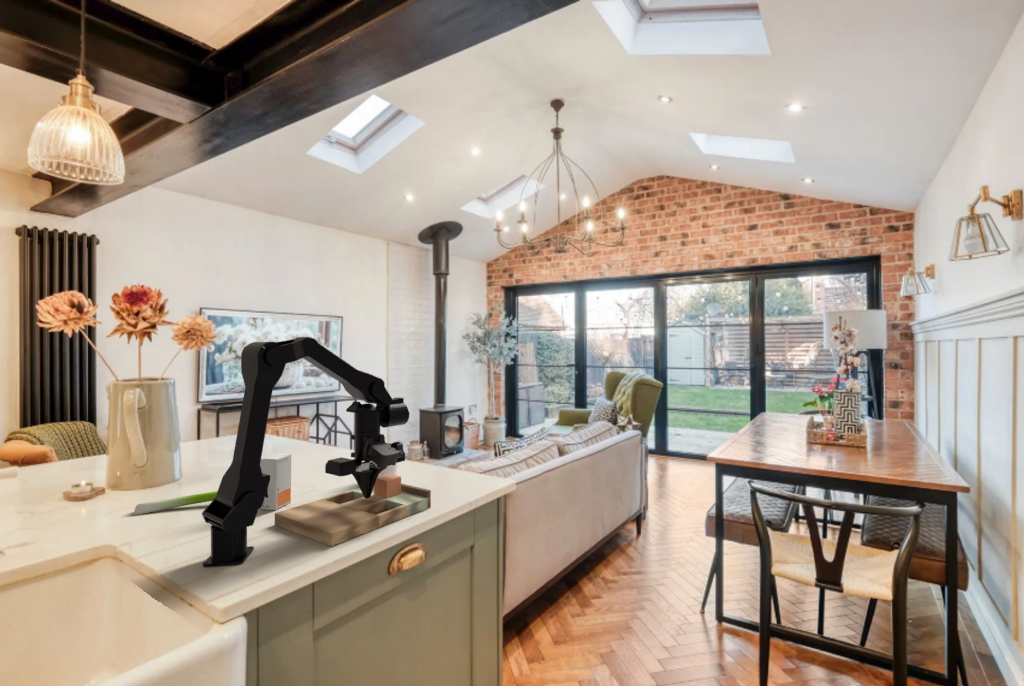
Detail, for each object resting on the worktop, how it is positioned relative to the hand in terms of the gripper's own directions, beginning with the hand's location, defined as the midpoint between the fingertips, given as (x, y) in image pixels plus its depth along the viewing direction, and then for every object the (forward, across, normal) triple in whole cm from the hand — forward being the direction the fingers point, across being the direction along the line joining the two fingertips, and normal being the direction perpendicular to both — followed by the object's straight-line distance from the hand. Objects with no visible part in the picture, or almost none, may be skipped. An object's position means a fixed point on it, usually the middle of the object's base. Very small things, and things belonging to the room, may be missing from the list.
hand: (367, 497), depth 113 cm
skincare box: (+4, -10, +21) cm, 24 cm away
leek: (+4, -18, +35) cm, 39 cm away
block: (+1, +6, 0) cm, 6 cm away
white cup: (+3, +20, +17) cm, 27 cm away
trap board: (+3, -2, 0) cm, 4 cm away
